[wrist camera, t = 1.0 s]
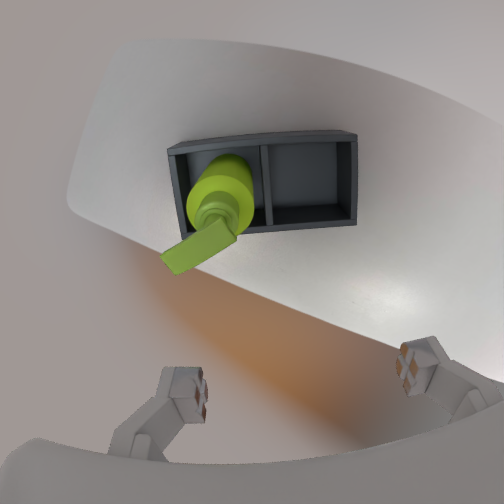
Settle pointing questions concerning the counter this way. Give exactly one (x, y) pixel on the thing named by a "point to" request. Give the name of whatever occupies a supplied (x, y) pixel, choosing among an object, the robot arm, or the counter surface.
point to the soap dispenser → (215, 212)
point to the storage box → (279, 177)
